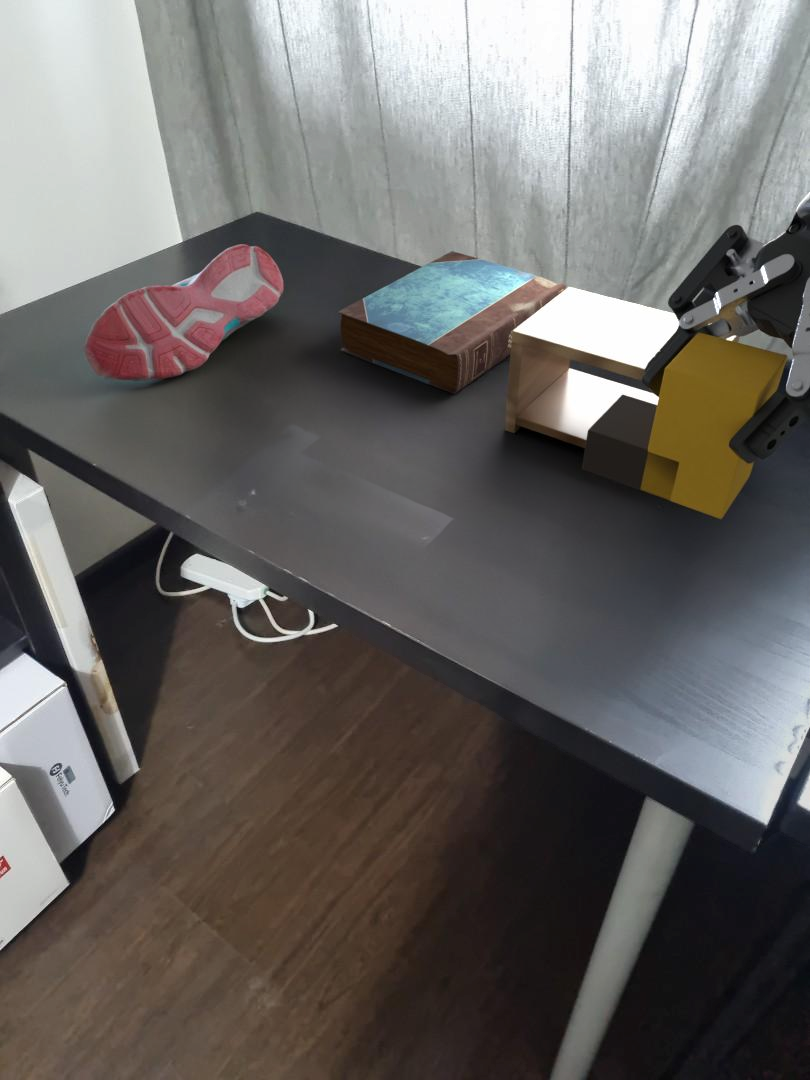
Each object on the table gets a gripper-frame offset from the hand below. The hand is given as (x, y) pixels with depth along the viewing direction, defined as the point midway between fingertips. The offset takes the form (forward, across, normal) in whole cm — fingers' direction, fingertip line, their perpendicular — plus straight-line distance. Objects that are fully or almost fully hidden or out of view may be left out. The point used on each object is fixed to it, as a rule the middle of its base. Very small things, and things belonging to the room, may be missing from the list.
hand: (692, 420), depth 48 cm
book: (+6, -53, +24) cm, 58 cm away
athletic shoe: (+27, -64, +3) cm, 69 cm away
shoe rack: (+3, -27, +27) cm, 38 cm away
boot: (+3, -2, +4) cm, 5 cm away
